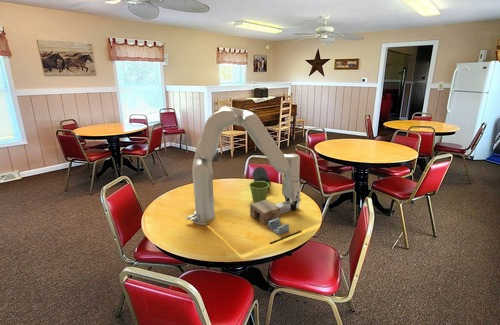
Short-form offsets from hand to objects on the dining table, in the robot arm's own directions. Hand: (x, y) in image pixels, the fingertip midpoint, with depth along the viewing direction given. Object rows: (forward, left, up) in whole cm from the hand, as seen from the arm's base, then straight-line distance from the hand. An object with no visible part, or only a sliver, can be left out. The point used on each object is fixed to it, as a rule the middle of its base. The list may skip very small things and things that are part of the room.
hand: (290, 208), depth 157 cm
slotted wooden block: (-18, 0, -2) cm, 18 cm away
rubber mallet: (-28, +43, -2) cm, 51 cm away
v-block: (-20, -14, -2) cm, 24 cm away
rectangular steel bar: (-5, 0, 0) cm, 5 cm away
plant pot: (-8, +19, -2) cm, 21 cm away
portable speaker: (+9, +40, -2) cm, 41 cm away
